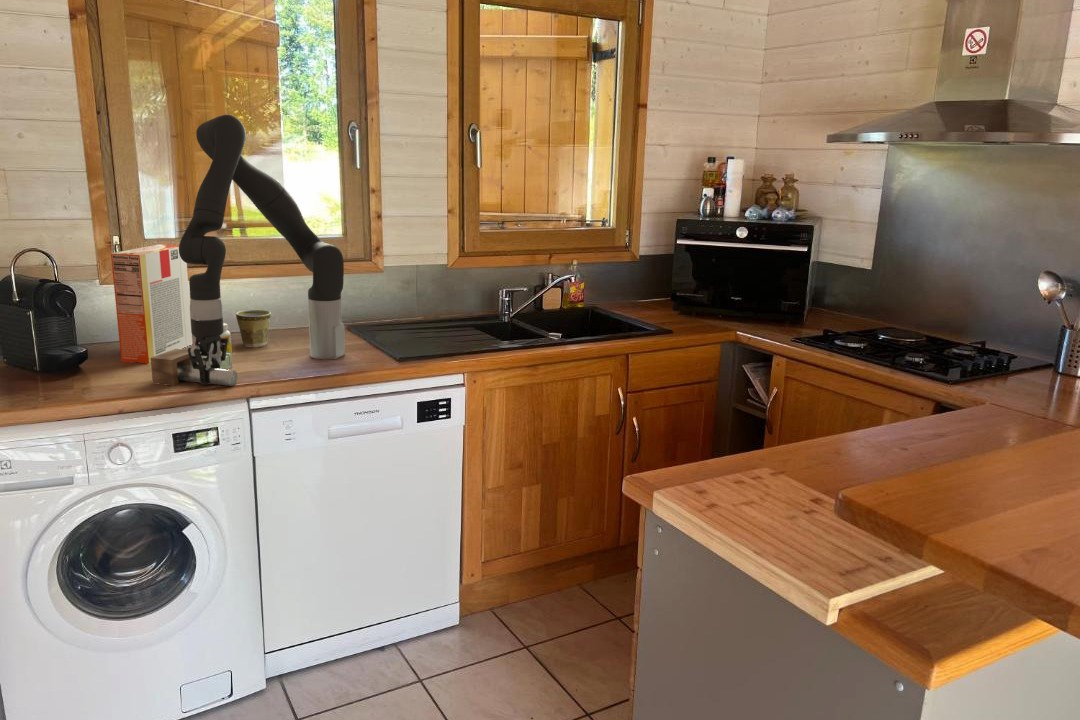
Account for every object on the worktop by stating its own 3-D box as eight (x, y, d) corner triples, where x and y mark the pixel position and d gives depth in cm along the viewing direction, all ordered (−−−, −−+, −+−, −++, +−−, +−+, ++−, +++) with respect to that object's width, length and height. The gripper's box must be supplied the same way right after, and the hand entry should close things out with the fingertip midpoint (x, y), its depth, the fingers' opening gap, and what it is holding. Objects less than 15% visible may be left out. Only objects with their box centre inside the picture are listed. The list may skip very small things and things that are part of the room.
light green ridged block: (232, 367, 215) (231, 353, 214) (215, 374, 208) (214, 360, 207) (199, 364, 217) (198, 350, 216) (181, 371, 209) (180, 357, 208)
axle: (237, 384, 201) (237, 369, 200) (228, 387, 197) (228, 371, 196) (168, 376, 204) (167, 362, 204) (158, 379, 201) (157, 364, 200)
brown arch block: (197, 375, 207) (196, 350, 205) (173, 385, 197) (171, 359, 195) (177, 373, 208) (175, 348, 206) (152, 383, 198) (150, 357, 196)
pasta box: (167, 342, 238) (159, 244, 231) (192, 344, 238) (185, 245, 230) (121, 361, 216) (110, 253, 209) (149, 363, 215) (139, 255, 208)
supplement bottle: (233, 354, 229) (231, 322, 226) (230, 358, 224) (228, 326, 221) (213, 354, 227) (211, 322, 225) (210, 359, 222) (208, 326, 220)
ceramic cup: (276, 346, 239) (274, 314, 237) (242, 350, 234) (240, 317, 231) (264, 337, 250) (262, 307, 247) (231, 340, 244) (229, 309, 242)
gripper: (210, 309, 203) (213, 372, 207) (175, 319, 190) (179, 387, 194) (236, 312, 202) (239, 375, 206) (202, 322, 188) (207, 390, 193)
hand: (210, 381), depth 200 cm, fingers closed on axle, 4 cm apart
